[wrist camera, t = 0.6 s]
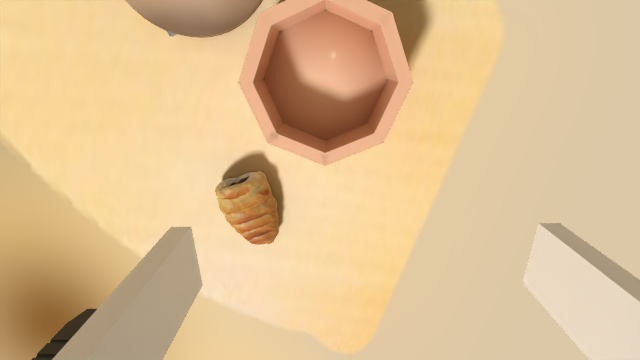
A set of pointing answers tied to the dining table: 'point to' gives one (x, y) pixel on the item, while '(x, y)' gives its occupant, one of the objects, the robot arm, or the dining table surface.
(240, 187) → the pastry
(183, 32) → the lid
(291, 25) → the bowl
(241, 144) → the dining table surface
